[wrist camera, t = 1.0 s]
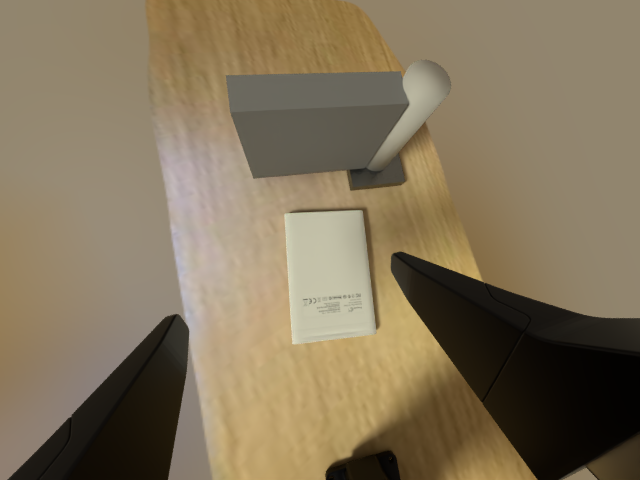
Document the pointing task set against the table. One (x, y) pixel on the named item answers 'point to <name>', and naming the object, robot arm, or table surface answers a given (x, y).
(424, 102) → the swing arm
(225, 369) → the table surface
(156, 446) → the robot arm
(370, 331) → the external hard drive
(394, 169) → the arm mount
